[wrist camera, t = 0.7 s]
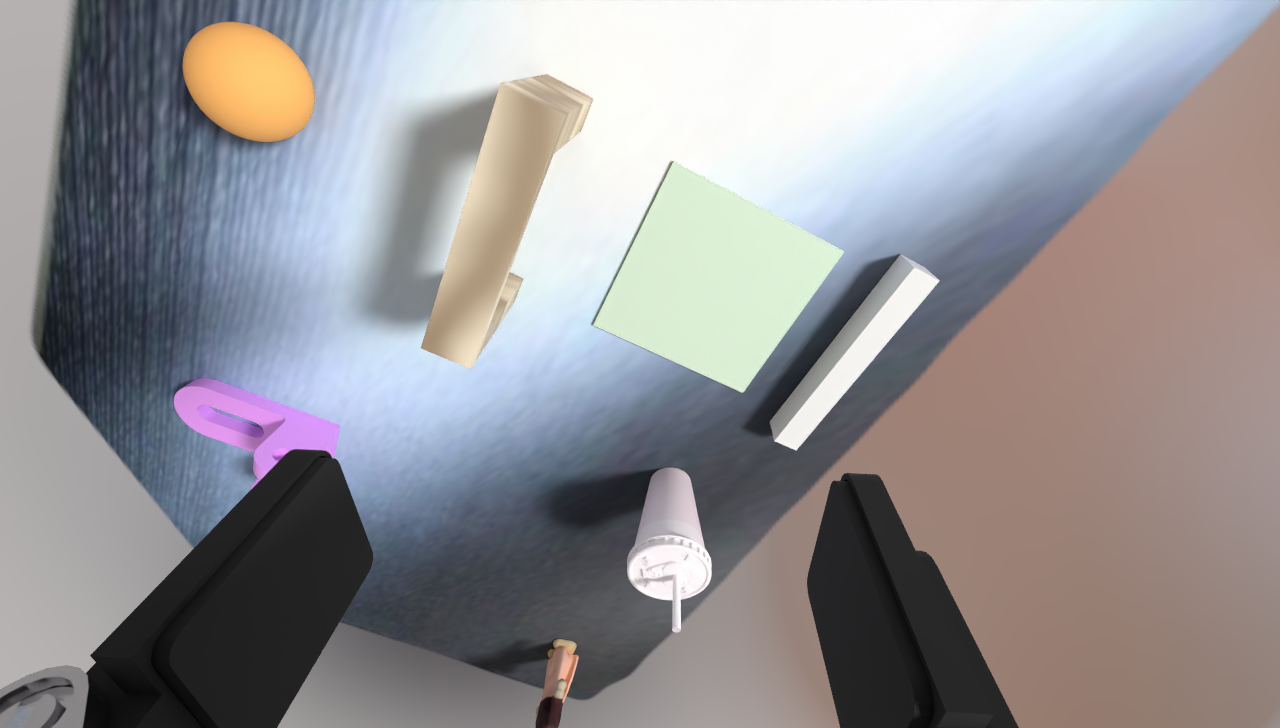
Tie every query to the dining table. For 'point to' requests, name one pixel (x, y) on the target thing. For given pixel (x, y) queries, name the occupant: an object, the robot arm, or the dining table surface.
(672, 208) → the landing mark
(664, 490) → the smoothie
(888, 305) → the wall
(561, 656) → the grandmother figurine
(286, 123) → the ball
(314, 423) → the bracket
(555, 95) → the bridge
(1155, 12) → the dining table surface
